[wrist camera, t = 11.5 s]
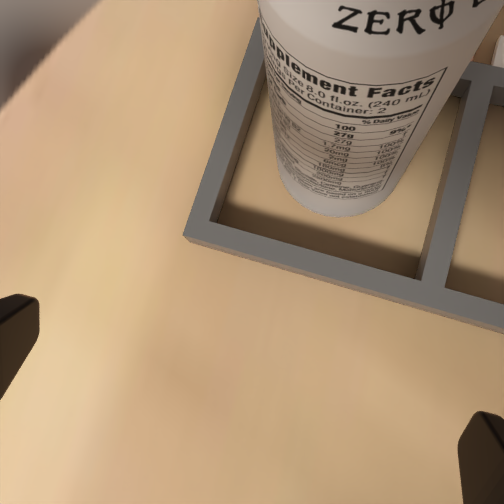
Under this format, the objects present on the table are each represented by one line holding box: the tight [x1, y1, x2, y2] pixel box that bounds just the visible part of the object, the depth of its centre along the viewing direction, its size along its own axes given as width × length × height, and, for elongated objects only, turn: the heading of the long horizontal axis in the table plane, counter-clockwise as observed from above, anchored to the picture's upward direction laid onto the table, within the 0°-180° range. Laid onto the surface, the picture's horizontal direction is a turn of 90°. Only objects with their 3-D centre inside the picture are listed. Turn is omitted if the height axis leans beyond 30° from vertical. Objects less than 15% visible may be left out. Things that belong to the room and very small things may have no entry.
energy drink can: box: [257, 0, 504, 217], centre depth 16 cm, size 6×6×15 cm
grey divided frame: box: [183, 17, 504, 334], centre depth 22 cm, size 23×14×2 cm, turn 73°
